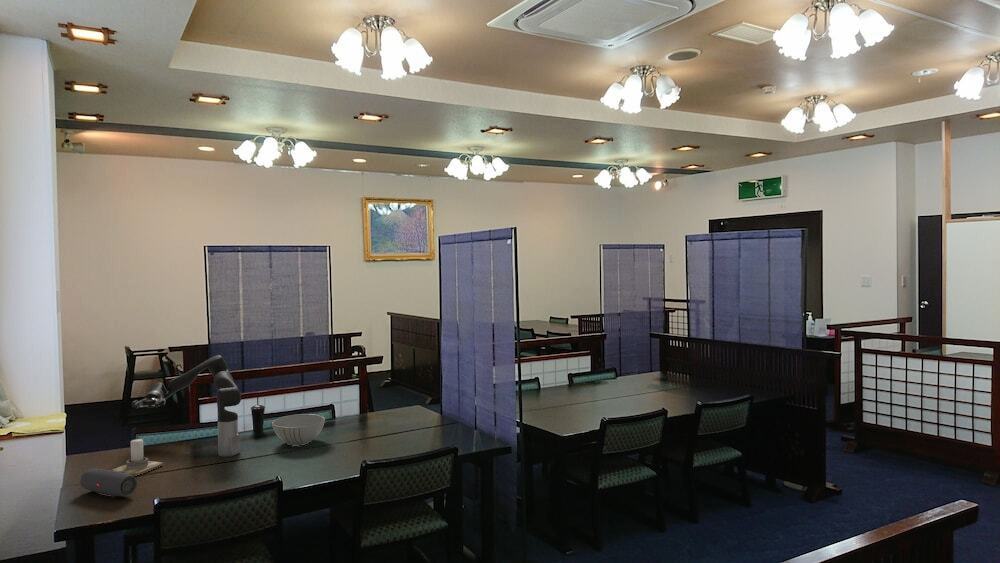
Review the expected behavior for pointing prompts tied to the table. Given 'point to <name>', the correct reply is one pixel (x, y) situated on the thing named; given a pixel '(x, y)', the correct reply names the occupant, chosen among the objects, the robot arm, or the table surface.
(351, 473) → the table surface
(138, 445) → the duct sleeve
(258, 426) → the drinking cup
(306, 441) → the decorative bowl
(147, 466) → the duct base
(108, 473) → the bluetooth speaker
